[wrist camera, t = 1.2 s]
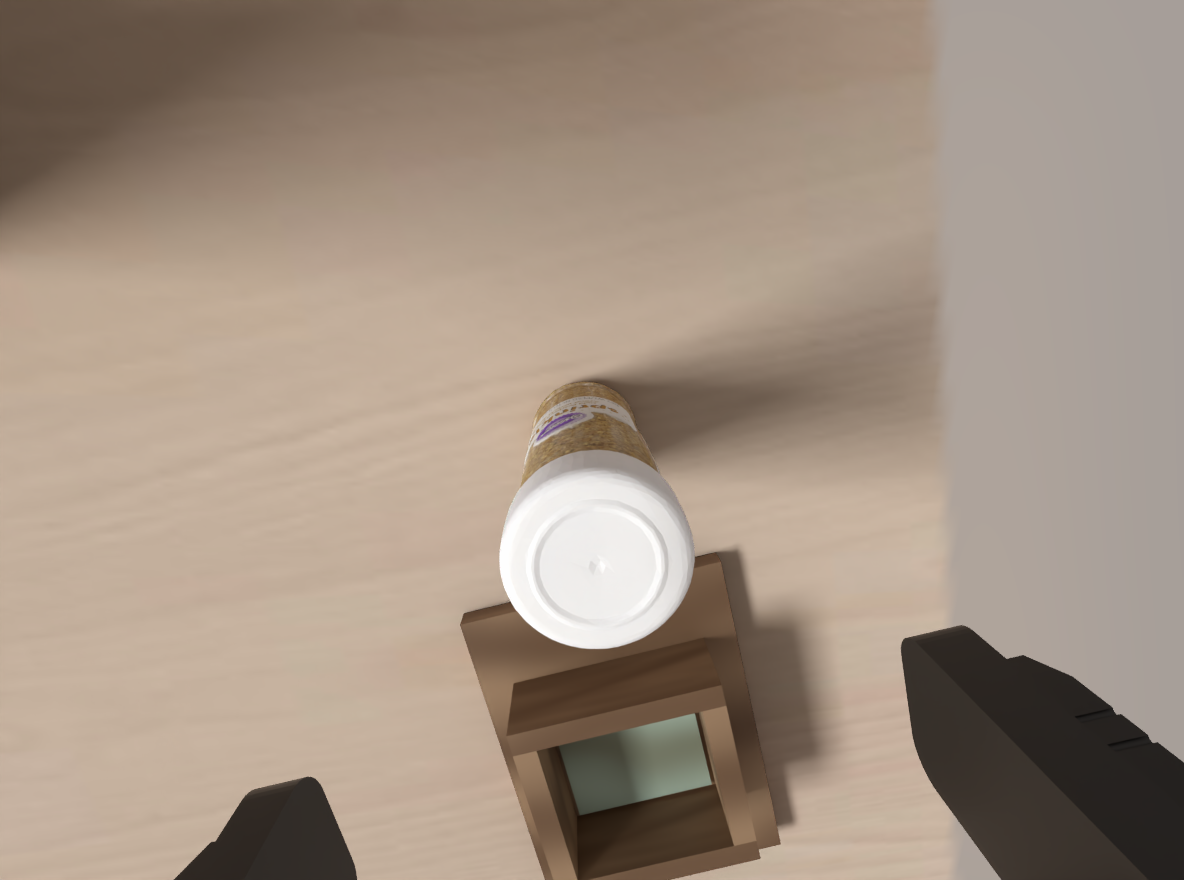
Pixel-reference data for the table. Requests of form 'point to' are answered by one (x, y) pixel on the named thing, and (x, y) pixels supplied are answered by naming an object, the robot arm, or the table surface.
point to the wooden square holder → (630, 741)
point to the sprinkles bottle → (594, 526)
